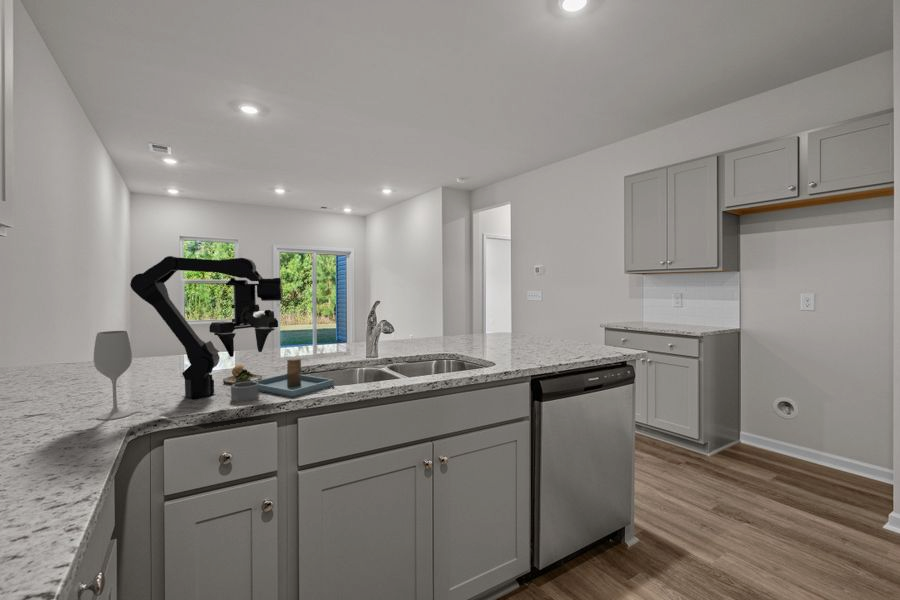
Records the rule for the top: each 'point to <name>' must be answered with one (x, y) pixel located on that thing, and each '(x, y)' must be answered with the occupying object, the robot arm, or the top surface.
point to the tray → (280, 387)
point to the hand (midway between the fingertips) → (246, 354)
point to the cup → (245, 391)
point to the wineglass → (113, 364)
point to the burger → (240, 376)
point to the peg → (293, 372)
